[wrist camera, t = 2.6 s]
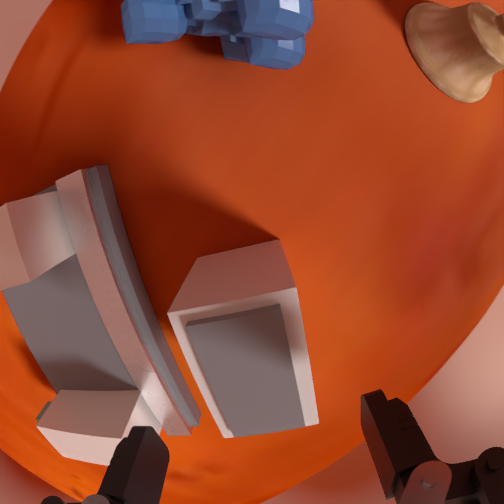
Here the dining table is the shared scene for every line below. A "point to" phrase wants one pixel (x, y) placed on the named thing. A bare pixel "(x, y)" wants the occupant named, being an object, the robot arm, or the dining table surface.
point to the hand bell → (457, 47)
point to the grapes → (226, 26)
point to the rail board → (89, 319)
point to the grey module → (246, 340)
